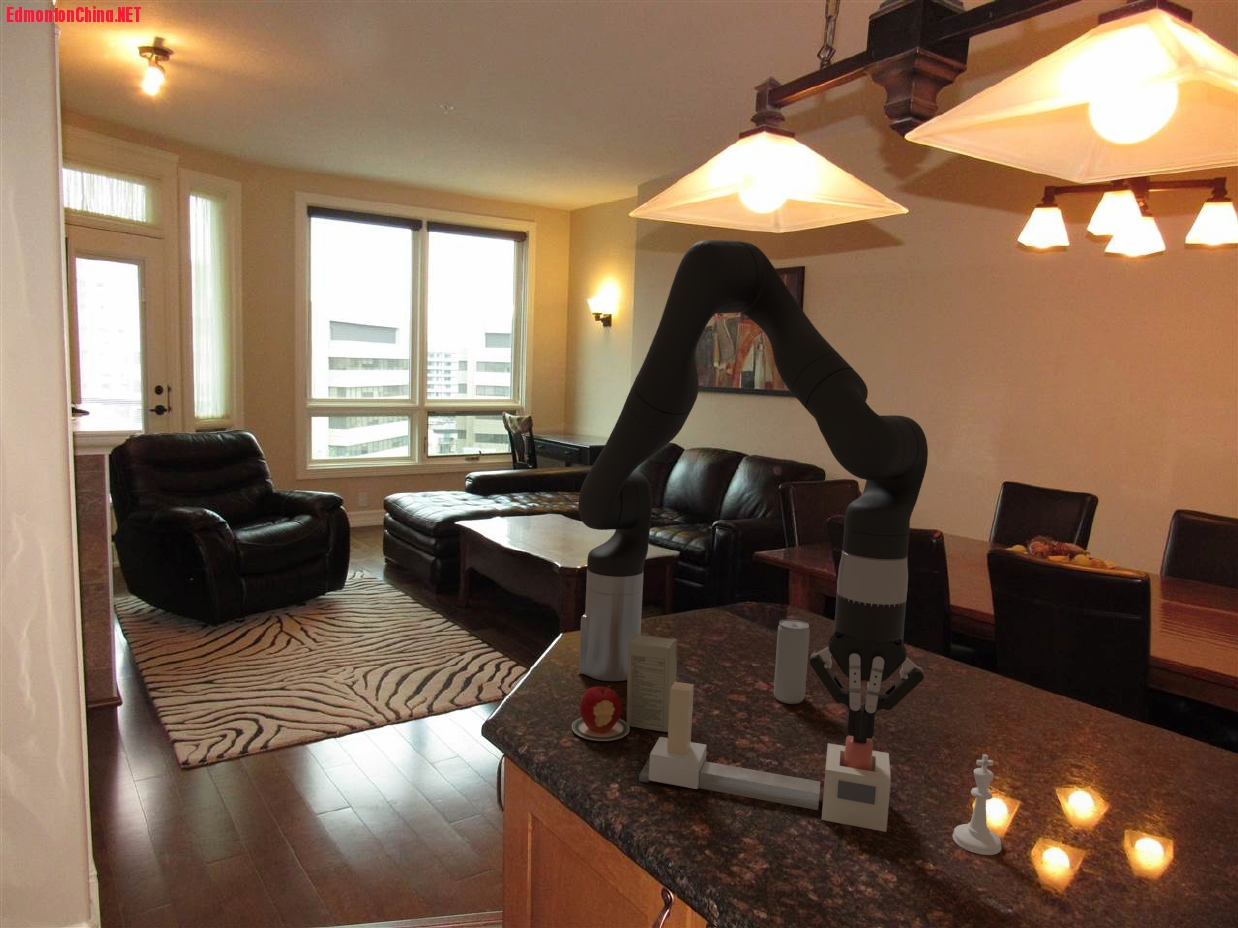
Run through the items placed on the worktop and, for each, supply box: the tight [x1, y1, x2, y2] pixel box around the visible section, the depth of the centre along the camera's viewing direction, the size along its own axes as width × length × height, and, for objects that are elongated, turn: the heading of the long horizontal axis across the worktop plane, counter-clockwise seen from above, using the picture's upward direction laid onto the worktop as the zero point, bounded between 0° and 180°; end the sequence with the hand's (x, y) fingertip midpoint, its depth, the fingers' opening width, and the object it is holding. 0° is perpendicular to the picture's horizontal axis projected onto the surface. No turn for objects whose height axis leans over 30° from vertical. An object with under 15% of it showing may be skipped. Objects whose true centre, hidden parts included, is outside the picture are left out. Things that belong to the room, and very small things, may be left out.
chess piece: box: [952, 753, 1003, 856], centre depth 90 cm, size 5×5×10 cm
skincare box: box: [626, 634, 678, 733], centre depth 116 cm, size 6×4×12 cm
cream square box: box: [821, 742, 892, 833], centre depth 95 cm, size 7×7×6 cm
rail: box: [638, 756, 821, 811], centre depth 100 cm, size 21×5×2 cm, turn 74°
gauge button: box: [844, 735, 874, 771], centre depth 95 cm, size 3×3×5 cm
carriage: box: [649, 681, 707, 790], centre depth 101 cm, size 6×5×11 cm
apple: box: [571, 685, 631, 742], centre depth 113 cm, size 8×8×6 cm
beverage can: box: [773, 619, 811, 705], centre depth 127 cm, size 5×5×12 cm
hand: (860, 739), depth 95 cm, fingers closed
